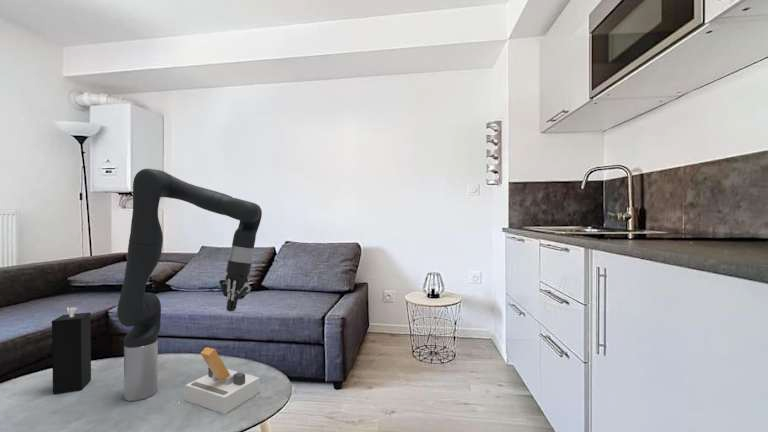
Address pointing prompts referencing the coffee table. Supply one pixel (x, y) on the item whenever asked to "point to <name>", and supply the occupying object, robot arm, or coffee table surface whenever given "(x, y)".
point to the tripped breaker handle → (215, 363)
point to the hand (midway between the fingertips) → (230, 310)
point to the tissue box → (71, 351)
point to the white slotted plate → (222, 391)
